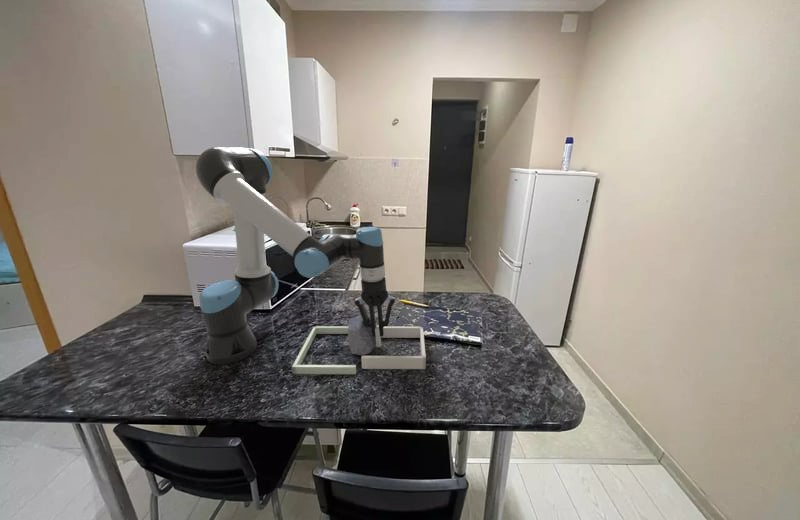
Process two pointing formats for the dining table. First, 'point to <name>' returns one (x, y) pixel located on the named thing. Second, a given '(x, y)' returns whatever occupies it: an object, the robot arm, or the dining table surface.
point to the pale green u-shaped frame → (321, 369)
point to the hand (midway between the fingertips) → (378, 344)
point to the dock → (398, 361)
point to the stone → (360, 336)
